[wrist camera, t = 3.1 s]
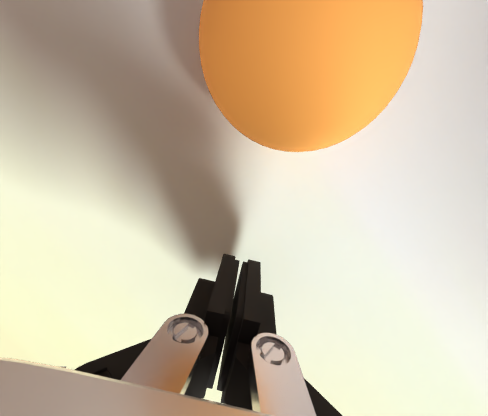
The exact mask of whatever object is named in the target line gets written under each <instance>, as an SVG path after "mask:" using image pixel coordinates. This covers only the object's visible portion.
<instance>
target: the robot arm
mask: <svg viewBox="0 0 488 416" xmlns="http://www.w3.org/2000/svg"><path fill="white" fill-rule="evenodd" d="M238 267H239V261H238V260H235V256H231V255H227V254H224V255H223V258H222V261H221V265H220V268H219V271H218V275H217V278H216V281H215V282H214V281H210V280H206V279H201V278H199V279H198V282H197V284H196V286H195V289H194V291H193V294H192V296H191V298H190V301H189V303H188V305H187V308H186V310H185V312H184V314H178V315H174V316H172V317H170V318H168V319H167V320H166V321H165V322H164V324H163V325H162V326H161V327H160V329H159V330H158V331H157V333H156V334H155V335H154V337H153V338H152V339H150V340H147V341H144V342H142V343H139V344H136V345H134V346H131V347H128V348H126V349H123V350H120V351H118V352H115V353H112V354H110V355H107V356H104V357H102V358H99V359H96V360H94V361H91V362H88V363H86V364H84V365H82V366H80V367H78V368H77V369H75V370H71V369H67V368H66V367H57V366H52V365H46V364H41V363H35V362H30V361H24V360H19V359H11V358H2V357H0V416H342V415H341V414H340V413H339V412H338V411H337V410H336V409H335V408H334V407H333V406H332V405H331V404H330V403H329V402H328V401H327V400H326V399H325V398H324V397H323V396H322V395H321V394H320V393H319V392H318V391H317V390H316V389H315V388H314V387H313V386H312V385H311V384H310V383H309V382H307V381H306V380H305V379H304V377H303V374H302V371H301V368H300V365H299V362H298V360H297V357H296V354H295V351H294V349H293V347H292V346H291V345H290V344H289V342H288V341H286V340H285V339H284V338H282V337H280V336H278V335H276V325H275V313H274V301H273V296H272V295H269V294H265V293H261V275H260V262H257V261H252V260H248V262H243V264H242V267H241V271H240V275H239V279H238V283H237V287H236V291H235V285H236V279H237V273H238ZM234 292H235V295H234ZM233 298H234V299H233ZM225 336H226V338H225ZM224 340H225V344H224ZM223 344H224V350H223V356H222V362H221V368H220V374H219V380H218V386H217V390H219V391H222V398H221V403H218V402H214V401H209V400H205V399H201V398H204V396H205V392H206V388H211V389H212V387H213V384H214V380H215V376H216V372H217V368H218V364H219V360H220V356H221V352H222V348H223ZM222 403H224V404H222Z"/></svg>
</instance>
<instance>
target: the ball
mask: <svg viewBox="0 0 488 416" xmlns="http://www.w3.org/2000/svg"><path fill="white" fill-rule="evenodd" d="M422 12H423V0H204V1H203V5H202V10H201V15H200V24H199V51H200V59H201V66H202V70H203V74H204V78H205V81H206V84H207V86H208V89H209V92H210V94H211V96H212V98H213V100H214V101H215V103H216V105H217V106H218V108H219V109H220V111H221V112H222V114H223V115H224V117H225V118H226V119H227V120H228V121H229V122H230V123H231V124H232V125H233V126H234V127H235V128H236V129H237V130H238V131H239V132H241V133H242V134H243V135H245V136H246V137H248V138H249V139H251V140H252V141H254V142H256V143H259V144H261V145H263V146H266V147H269V148H272V149H275V150H281V151H288V152H304V151H314V150H318V149H323V148H327V147H329V146H332V145H335V144H338V143H340V142H342V141H344V140H346V139H348V138H349V137H351V136H353V135H354V134H356V133H357V132H359V131H360V130H362V129H363V128H364V127H366V126H367V125H368V124H369V123H370V122H371V121H373V120H374V119H375V118H376V117H377V116H378V115H379V114H380V113H381V112H382V111H383V110H384V108H385V107H386V106H387V105H388V103H389V102H390V101H391V99H392V98H393V97H394V95H395V94H396V92H397V91H398V89H399V88H400V86H401V84H402V82H403V81H404V79H405V77H406V75H407V73H408V71H409V68H410V66H411V64H412V61H413V58H414V55H415V52H416V49H417V45H418V40H419V35H420V30H421V24H422Z"/></svg>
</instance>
